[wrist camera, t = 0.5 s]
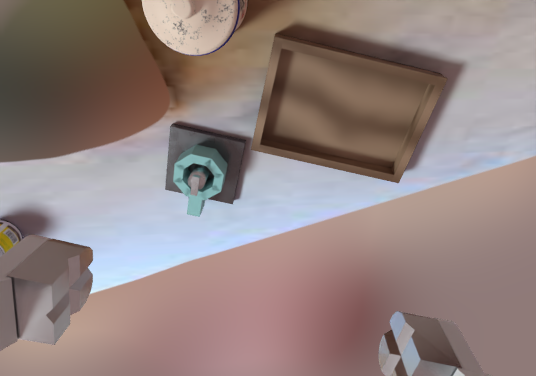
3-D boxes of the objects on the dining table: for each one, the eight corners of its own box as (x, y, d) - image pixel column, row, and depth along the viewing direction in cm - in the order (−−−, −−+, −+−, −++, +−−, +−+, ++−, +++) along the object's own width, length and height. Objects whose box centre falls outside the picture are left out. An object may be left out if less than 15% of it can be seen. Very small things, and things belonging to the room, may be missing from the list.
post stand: (172, 123, 49) (158, 140, 44) (245, 140, 49) (239, 158, 44) (167, 186, 54) (154, 207, 49) (233, 200, 54) (227, 223, 49)
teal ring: (182, 141, 49) (175, 150, 46) (229, 152, 49) (226, 161, 47) (176, 199, 54) (170, 210, 51) (219, 208, 54) (215, 220, 51)
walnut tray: (275, 33, 42) (274, 36, 40) (440, 73, 43) (447, 78, 41) (252, 141, 49) (250, 149, 47) (394, 174, 50) (398, 183, 48)
